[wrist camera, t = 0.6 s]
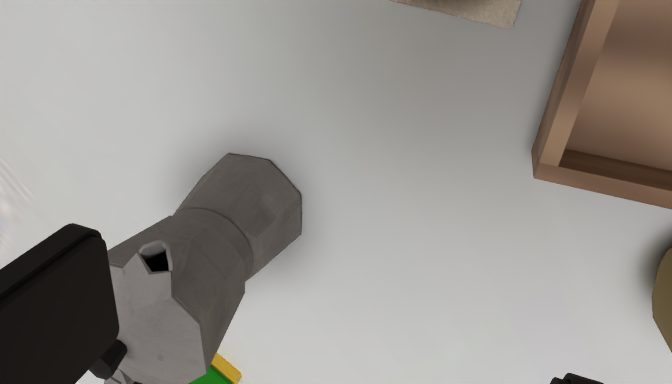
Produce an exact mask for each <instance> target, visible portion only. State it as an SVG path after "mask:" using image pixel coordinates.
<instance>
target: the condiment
mask: <svg viewBox="0 0 672 384" xmlns="http://www.w3.org/2000/svg"><path fill="white" fill-rule="evenodd" d="M391 1H395V2H399V3H404V4H408V5H412V6H417V7H421V8H425V9H429V10H433V11H438V12H442V13H446V14H450V15H454V16H460V17H462V18H466V19H470V20H474V21H478V22H482V23H486V24H491V25H494V26H498V27H502V28H506V29H510V30H511V29H512V26H513V23H514V20H515V18H516V15H517V12H518V9H519V6H520V4H521V1H522V0H391Z"/></svg>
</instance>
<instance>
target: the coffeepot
mask: <svg viewBox="0 0 672 384" xmlns="http://www.w3.org/2000/svg"><path fill="white" fill-rule="evenodd" d="M301 219H302V208H301V195H300V194H299V193H298V191H297V190H296V188H295V187H294V186H293V184H292V183H291V182H290V180H289V179H288V178H287V177H286V176H285V175H284V174H283V173H282V172H281V171H280V170H279V169H278V168H276V167H275V166H273V164H272V163H271V162H270V161H268V160H264V159H260V158H256V157H252V156H245V155H238V156H237V155H231V154H226V155H225V156H224V157H223V158H222V159H221V160H220V161H219V162H218V163H217V164H216V165H215V166H213V167H212V168H211V169H210V170H209V171H208V172H207V173H206V174H205V175H204V176H203V177H202V178H201V179H200V180H199V182H198V183H197V184H196V186H195V187H194V188H193V190H192V191H191V192H190V193H189V195H188V196H187V197H186V199H185V200H184V201H183V203H182V204H181V205H180V207H179V208H178V209H177V211H176V212H175V213H174V214H173V216H168V217H166V218H165V219H163V220H161V221H159V222H158V223H156V224H154V225H152V226H151V227H149V228H147V229H145V230H143V231H142V232H140V233H138V234H136V235H135V236H133V237H131V238H129V239H127V240H126V241H124V242H122V243H120V244H119V245H117V246H115V247H113V248H111V249H110V250H108V251H107V253H108V260H109V266H110V272H111V278H112V284H113V290H114V296H115V302H116V308H117V314H118V320H119V334H118V336H117V338H116V340H115V342H114V343H113V344H112V345H111V346H110V347H109V348H108V349H107V351H106V352H105V353H104V354H103V355H102V356H101V357H100V358H99V359H98V360H97V361H96V362H95V363H94V364H93V365H92V366H91V367H90V368H89V369H88V370H89V371H91V372H92V373H93V374H94V375H95V376H96V377H98V378H101V379H105V381H104V384H188V383H190V382H192V381H194V380H196V379H197V378H199V377H201V376H203V375H204V374H206V373H207V372H208V369H209V367H210V365H211V362H212V360H213V358H214V356H215V354H216V352H217V350H218V348H219V346H220V344H221V341H222V339H223V337H224V335H225V333H226V331H227V329H228V327H229V325H230V323H231V320H232V318H233V316H234V314H235V312H236V310H237V308H238V306H239V304H240V302H241V299H242V297H243V295H244V293H245V281H247V280H248V279H249V278H251V277H252V276H253V275H255V274H256V273H257V272H258V271H259V270H261V269H262V268H263V267H264V266H265V265H266V264H267V263H269V262H270V261H271V260H272V259H273V258H274V257H275V256H277V255H278V254H279V253H280V252H281V251H282V250H283V249H285V248H286V247H287V246H288V245H289V244H290V243H291V242H293V241H294V240H295V239H296V238H297V237H298V236H299V235H301Z"/></svg>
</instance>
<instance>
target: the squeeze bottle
mask: <svg viewBox="0 0 672 384" xmlns="http://www.w3.org/2000/svg"><path fill="white" fill-rule="evenodd" d="M652 310H653V319H654V321H655V323H656V324H657V326H658V328H659V330H660V332H661V334H662V336H663V337H664V339H665V341H666V343H667V345H668V347H669V348H670V350H671V352H672V247H671V248H670V249H669V250H667V251H666V253H665V255H664V257H663V259H662V261H661V262H660V264H659V267H658V272H657V276H656V281H655V285H654V290H653V294H652Z"/></svg>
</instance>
